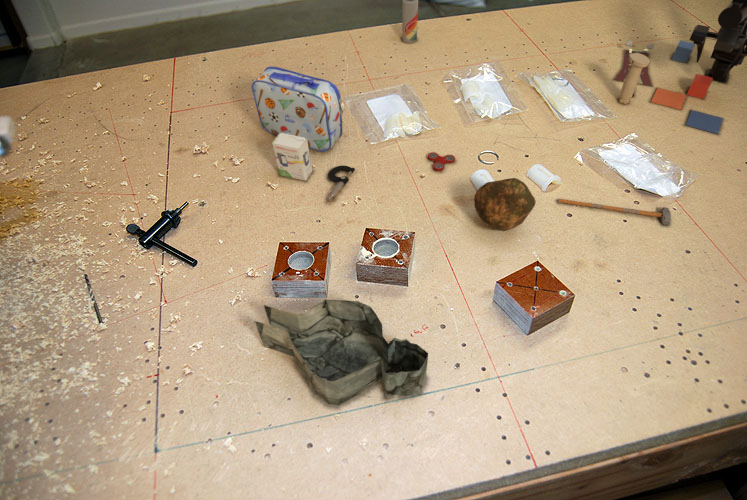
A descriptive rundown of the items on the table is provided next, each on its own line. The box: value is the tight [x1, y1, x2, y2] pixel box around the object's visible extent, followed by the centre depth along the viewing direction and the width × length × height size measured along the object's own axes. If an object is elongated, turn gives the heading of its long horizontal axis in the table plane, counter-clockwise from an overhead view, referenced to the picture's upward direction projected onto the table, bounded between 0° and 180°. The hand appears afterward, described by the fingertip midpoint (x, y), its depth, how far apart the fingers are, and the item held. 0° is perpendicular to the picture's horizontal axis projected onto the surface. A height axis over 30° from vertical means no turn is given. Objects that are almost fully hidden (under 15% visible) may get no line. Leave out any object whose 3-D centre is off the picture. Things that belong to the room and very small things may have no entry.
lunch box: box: [251, 66, 346, 153], centre depth 153 cm, size 28×10×22 cm, turn 65°
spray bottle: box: [401, 0, 419, 44], centre depth 194 cm, size 6×6×20 cm
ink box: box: [271, 133, 313, 181], centre depth 146 cm, size 9×5×12 cm, turn 70°
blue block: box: [671, 40, 696, 64], centre depth 185 cm, size 5×5×5 cm
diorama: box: [613, 39, 655, 97], centre depth 180 cm, size 12×35×5 cm, turn 159°
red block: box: [686, 73, 713, 100], centre depth 170 cm, size 5×5×5 cm
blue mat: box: [685, 109, 724, 135], centre depth 161 cm, size 9×9×1 cm
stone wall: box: [254, 298, 429, 406], centre depth 105 cm, size 35×19×10 cm, turn 71°
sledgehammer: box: [558, 198, 672, 226], centre depth 136 cm, size 27×2×5 cm
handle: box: [618, 53, 651, 105], centre depth 164 cm, size 5×6×15 cm
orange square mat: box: [650, 87, 687, 110], centre depth 169 cm, size 9×9×1 cm
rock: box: [473, 177, 537, 232], centre depth 129 cm, size 13×13×15 cm
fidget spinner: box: [427, 151, 456, 172], centre depth 151 cm, size 8×7×1 cm
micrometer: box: [325, 165, 356, 203], centre depth 146 cm, size 15×7×2 cm, turn 154°
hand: (713, 65), depth 161 cm, fingers open, 9 cm apart
